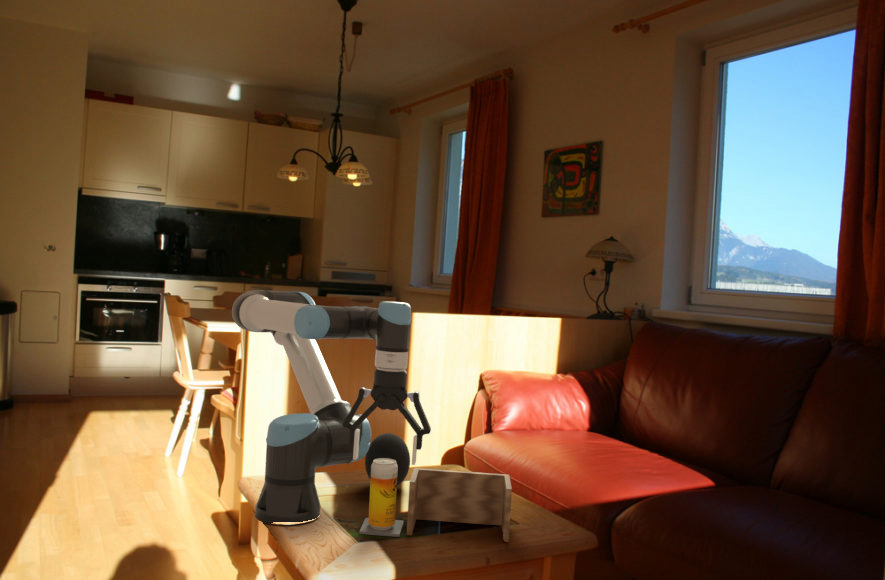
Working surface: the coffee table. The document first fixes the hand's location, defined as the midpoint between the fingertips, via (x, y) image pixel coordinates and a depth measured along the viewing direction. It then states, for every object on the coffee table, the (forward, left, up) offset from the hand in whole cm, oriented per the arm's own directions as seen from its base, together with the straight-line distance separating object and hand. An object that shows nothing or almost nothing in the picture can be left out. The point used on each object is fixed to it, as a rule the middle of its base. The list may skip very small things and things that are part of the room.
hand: (384, 460), depth 159 cm
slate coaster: (0, 0, -15) cm, 15 cm away
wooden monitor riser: (+18, +3, -15) cm, 24 cm away
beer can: (0, -1, -15) cm, 15 cm away
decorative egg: (-3, +31, -16) cm, 35 cm away
